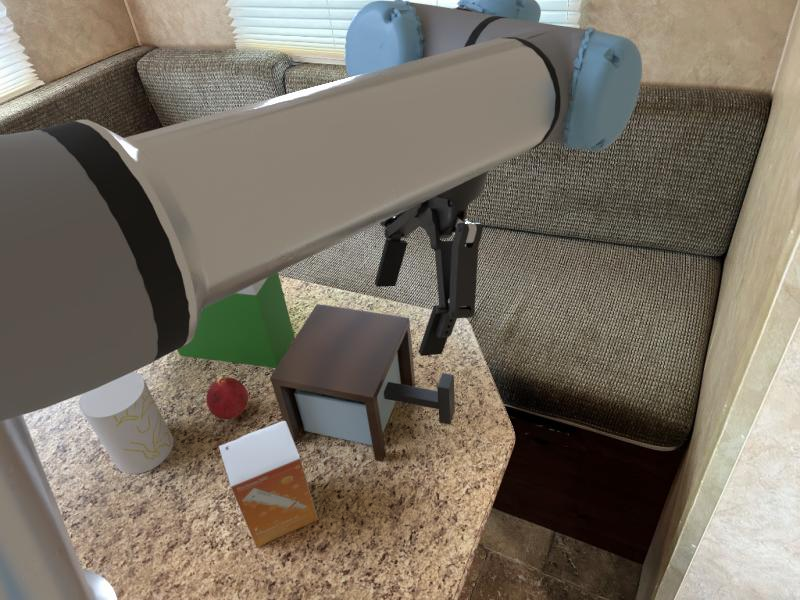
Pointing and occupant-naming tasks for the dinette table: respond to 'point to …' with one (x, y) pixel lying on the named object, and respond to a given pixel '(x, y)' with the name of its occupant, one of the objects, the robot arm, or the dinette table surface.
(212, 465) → the dinette table surface
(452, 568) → the dinette table surface
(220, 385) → the onion
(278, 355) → the green and white box
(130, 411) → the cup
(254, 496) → the small box
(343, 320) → the cabinet
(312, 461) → the dinette table surface
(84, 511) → the dinette table surface
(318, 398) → the drawer
